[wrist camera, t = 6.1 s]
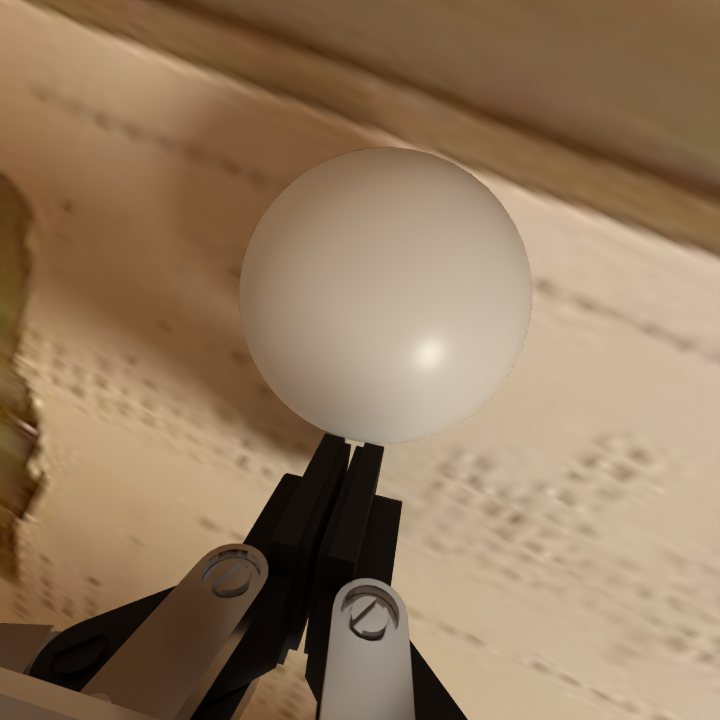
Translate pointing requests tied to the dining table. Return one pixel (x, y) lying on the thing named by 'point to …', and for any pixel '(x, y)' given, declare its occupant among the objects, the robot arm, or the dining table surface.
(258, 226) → the cue ball
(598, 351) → the dining table surface
